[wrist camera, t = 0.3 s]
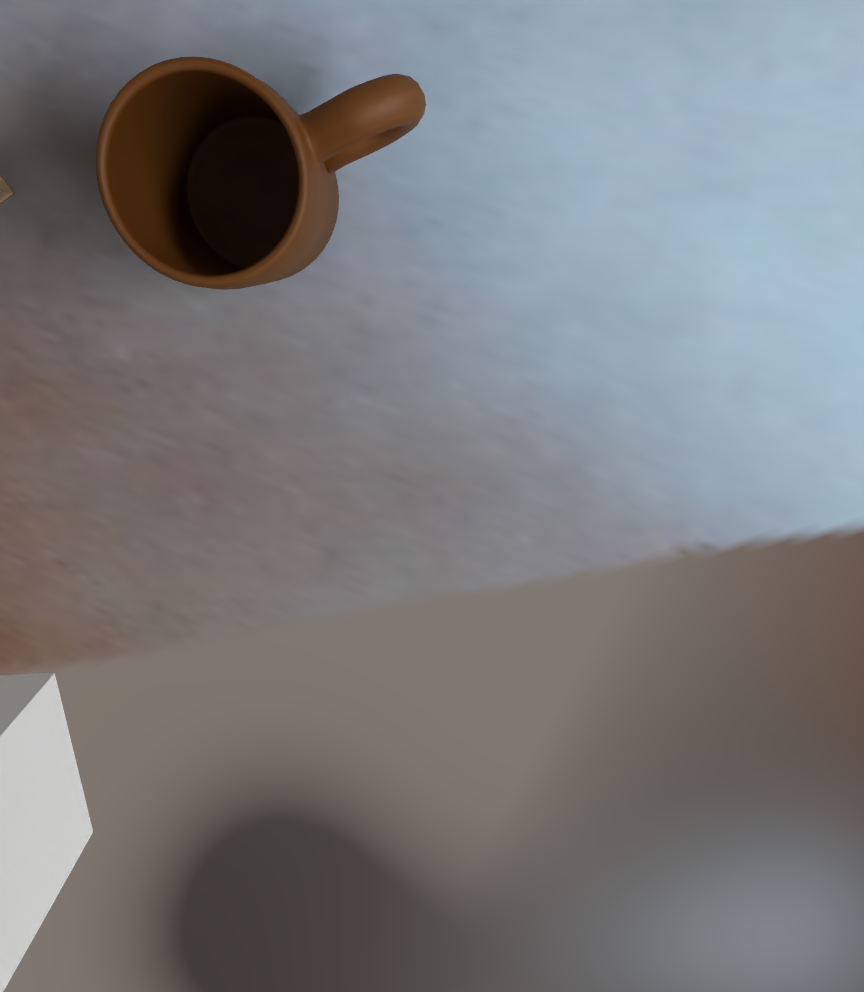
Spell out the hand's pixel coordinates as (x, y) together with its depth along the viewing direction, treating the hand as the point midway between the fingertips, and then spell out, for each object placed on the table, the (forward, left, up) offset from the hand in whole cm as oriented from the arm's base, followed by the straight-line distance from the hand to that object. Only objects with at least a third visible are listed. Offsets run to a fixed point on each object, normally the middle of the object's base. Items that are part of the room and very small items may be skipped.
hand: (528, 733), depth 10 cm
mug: (-10, -6, -28) cm, 30 cm away
